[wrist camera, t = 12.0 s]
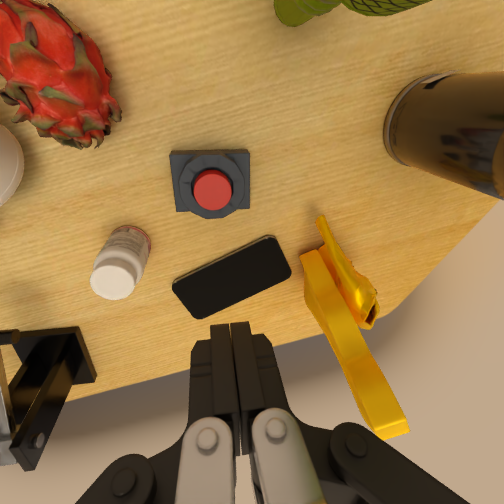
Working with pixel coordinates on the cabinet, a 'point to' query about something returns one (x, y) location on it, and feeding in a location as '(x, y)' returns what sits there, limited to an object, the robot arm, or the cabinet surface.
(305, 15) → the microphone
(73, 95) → the dragon fruit
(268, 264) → the smartphone
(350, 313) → the figure statuette
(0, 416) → the lever
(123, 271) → the pill bottle
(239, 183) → the control block
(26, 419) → the bracket
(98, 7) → the cabinet surface
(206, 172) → the button
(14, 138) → the light fixture
